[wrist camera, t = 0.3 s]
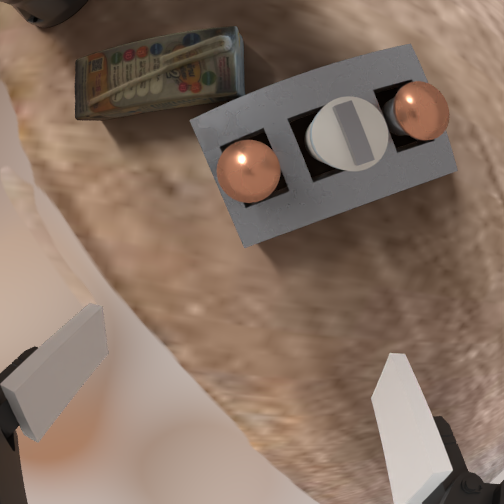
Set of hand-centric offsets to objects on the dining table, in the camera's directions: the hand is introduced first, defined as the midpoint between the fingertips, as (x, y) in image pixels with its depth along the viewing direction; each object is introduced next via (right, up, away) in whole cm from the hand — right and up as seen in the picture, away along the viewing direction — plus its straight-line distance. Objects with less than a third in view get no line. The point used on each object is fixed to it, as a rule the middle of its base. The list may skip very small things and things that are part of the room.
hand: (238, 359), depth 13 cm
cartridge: (+9, +17, +20) cm, 27 cm away
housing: (+9, +17, +20) cm, 27 cm away
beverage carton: (-9, +25, +20) cm, 33 cm away
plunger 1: (+1, +13, +19) cm, 23 cm away
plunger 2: (+16, +19, +15) cm, 29 cm away
